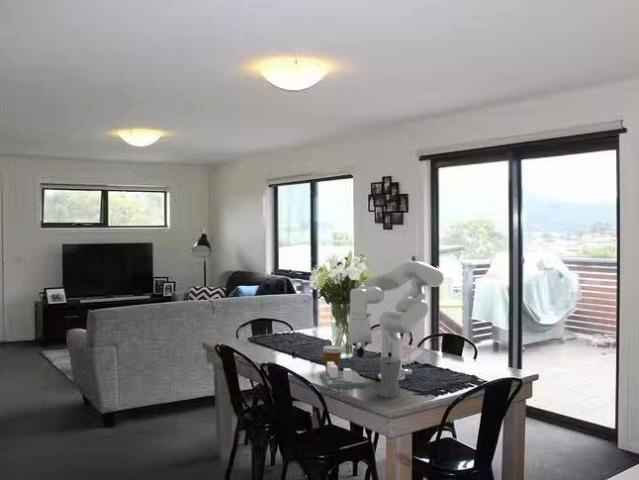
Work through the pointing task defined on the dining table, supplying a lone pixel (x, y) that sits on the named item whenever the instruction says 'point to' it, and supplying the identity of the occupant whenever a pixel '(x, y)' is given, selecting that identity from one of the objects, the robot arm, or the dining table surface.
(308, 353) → the dining table surface
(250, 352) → the dining table surface
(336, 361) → the disposable coffee cup
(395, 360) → the coffeepot
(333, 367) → the breaker
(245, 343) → the dining table surface
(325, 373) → the grey flat slab
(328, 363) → the breaker
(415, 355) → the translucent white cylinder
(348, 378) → the breaker
